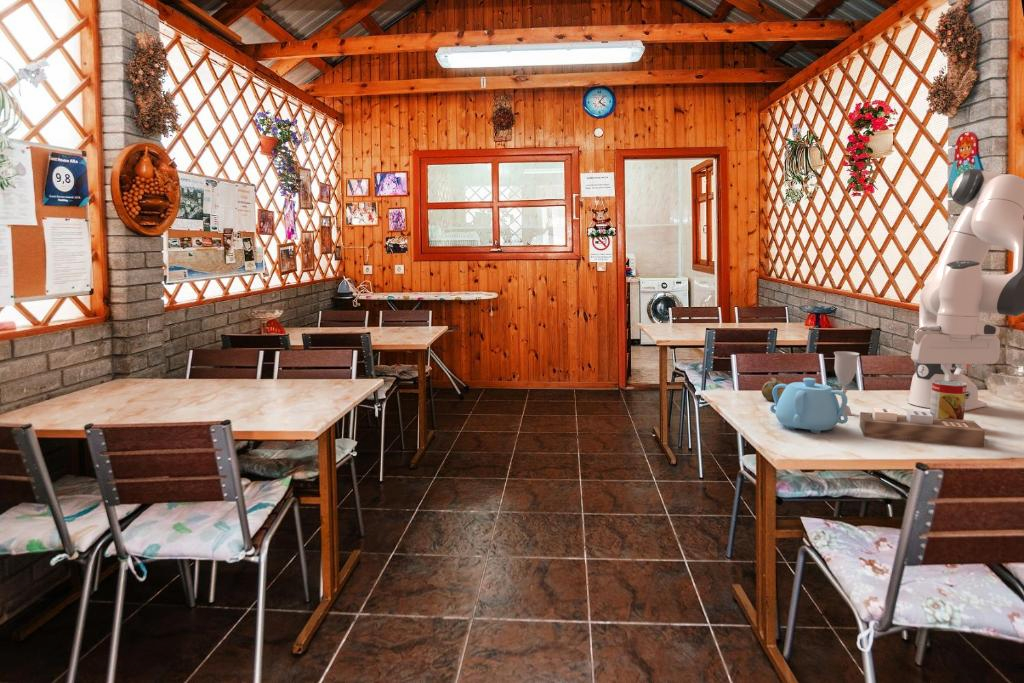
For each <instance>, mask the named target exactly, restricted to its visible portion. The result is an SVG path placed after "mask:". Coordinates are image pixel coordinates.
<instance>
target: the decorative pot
mask: <svg viewBox="0 0 1024 683" xmlns="http://www.w3.org/2000/svg"><path fill="white" fill-rule="evenodd" d="M802 381H803V382H802ZM802 381H797V382H796V381H795V382H791V383H788V384H787V383H784V384H778V385H776V386H775V387H774V388H773V391H772V394H773V398H774V401H773V402H774V403H773V404H772V403H771V405H770V408H769V410H770V412H771V413H772V414H774V415H775V417H776V419H777V421H778V422H779V424H781V425H783V426H785V429H787V428H789V429H788V430H796V429H803V430H809V431H810V433H812V432H813V433H812V434H822V431H829V430H832V429H834V427H836V425H837V424H841V425H842V424H846V423H847V422H848V421H849V417H848V415H846V414H842V413H843V411H844V409H845V407H846V405H847V406H848V397H847V395H846V394H844V393H843V392H842V391H841V390H838V389H833V387H832V386H830V385H827V384H821V383H817V379H816V378H812V377H804V378H803V379H802ZM780 387H783V388H785V389H784V391H783V393H782V395H781V397H780V399H778V396H777V389H778V388H780ZM837 395H838V396H840V398H841V397H842V399H843V402H842V401H841V402H842V405H841V407H839V405H840V403H839V400H838V398H837ZM842 399H841V400H842ZM842 417H843V419H842Z"/></svg>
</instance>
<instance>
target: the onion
mask: <svg viewBox="0 0 1024 683" xmlns="http://www.w3.org/2000/svg"><path fill="white" fill-rule="evenodd" d="M778 384H785V383H784V382H783V381H782V380H779V379H778V378H775V377H774V376H771V377H770V380H769V381H766V382H765V383H764V384H763V385H762V387H761V394H762V397H763V398H764V399H765V400H767V401H769V402H774V398H773V394H772V391H773V388H774V387H775V386H776V385H778ZM784 389H785V388H783V387H780V388H778V389H777V396H778V399H780V397H781V395H782V393H783V391H784Z"/></svg>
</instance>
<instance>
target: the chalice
mask: <svg viewBox="0 0 1024 683" xmlns="http://www.w3.org/2000/svg"><path fill="white" fill-rule="evenodd" d="M833 354H834V366H833V369H834V372H835V376H836V378H837V381H838V383H839V384H840V385H842V389H841V390H840V391H841V392H843V393H844V394H845V395H846V394H847V392H848V390H847V385H849V384H851V382H852V380H853V379H854V377H855V376H856V375H855V374H856V373H857V369H858V367H857V366H858V357H859V356H860V353H859V352H855V351H846V350H845V351H843V350H842V351H839V350H838V351H833ZM840 399H841V402H840V403H839V407H841V405H842V402H843V399H842V397H841V396H840ZM842 414H846V415H847V416H852V415H853V413H852V411H851V409H850V406H848V404H847V405H846V407H845V409H844V411H843V413H842Z"/></svg>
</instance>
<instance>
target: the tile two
mask: <svg viewBox="0 0 1024 683" xmlns="http://www.w3.org/2000/svg"><path fill="white" fill-rule="evenodd" d="M906 416H907V418H906V420H907V421H908V423H920V424H933V416H932V415H931V414H930V411H920V410H919V411H918V410H906Z"/></svg>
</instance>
